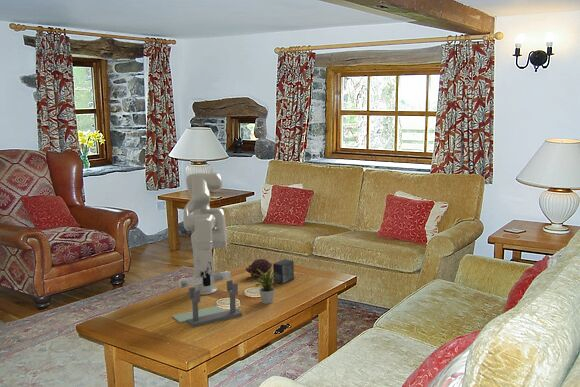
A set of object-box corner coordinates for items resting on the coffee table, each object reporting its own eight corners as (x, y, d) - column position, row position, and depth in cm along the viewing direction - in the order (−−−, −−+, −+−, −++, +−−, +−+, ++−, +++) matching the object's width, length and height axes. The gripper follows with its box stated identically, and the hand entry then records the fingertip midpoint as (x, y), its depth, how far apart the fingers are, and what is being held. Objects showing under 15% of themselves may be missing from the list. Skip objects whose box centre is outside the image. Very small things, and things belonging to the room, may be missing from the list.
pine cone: (266, 271, 337) (266, 254, 335) (278, 275, 330) (278, 257, 328) (241, 278, 325) (241, 260, 323) (253, 282, 318) (253, 264, 316)
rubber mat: (172, 316, 271) (172, 315, 271) (230, 304, 286) (230, 302, 286) (180, 323, 263) (179, 321, 263) (239, 309, 278) (239, 308, 278)
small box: (284, 277, 326) (284, 258, 325) (294, 279, 323) (294, 260, 321) (272, 282, 318) (272, 263, 316) (282, 284, 314) (282, 265, 312)
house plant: (256, 295, 298) (255, 263, 295) (284, 296, 295) (283, 264, 293) (248, 305, 284) (247, 271, 282) (277, 306, 282) (276, 273, 279)
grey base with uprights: (186, 322, 263) (185, 288, 261) (236, 311, 276) (235, 279, 273) (192, 327, 258) (190, 292, 256) (242, 315, 271) (241, 282, 268)
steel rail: (178, 285, 267) (178, 279, 266) (227, 276, 279) (227, 270, 279) (181, 287, 264) (181, 281, 264) (230, 278, 277) (230, 272, 276)
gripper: (188, 242, 274) (190, 281, 277) (203, 250, 260) (205, 291, 263) (204, 240, 278) (205, 279, 281) (219, 247, 264) (220, 288, 267)
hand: (205, 284), depth 272 cm, fingers closed on steel rail, 3 cm apart
